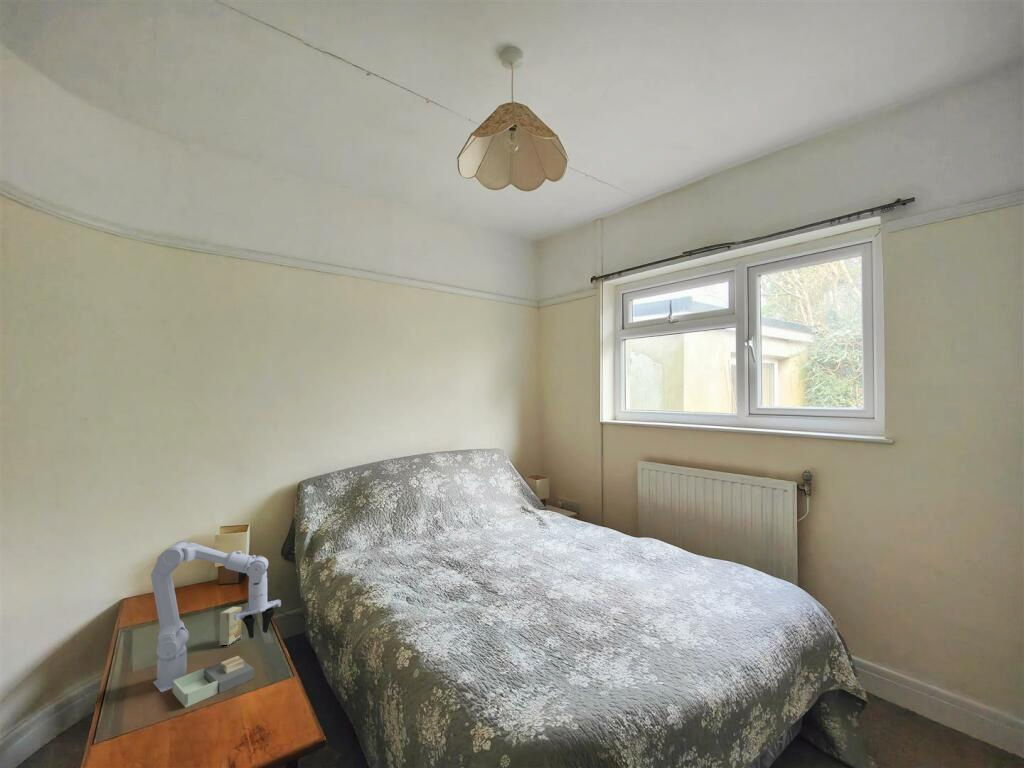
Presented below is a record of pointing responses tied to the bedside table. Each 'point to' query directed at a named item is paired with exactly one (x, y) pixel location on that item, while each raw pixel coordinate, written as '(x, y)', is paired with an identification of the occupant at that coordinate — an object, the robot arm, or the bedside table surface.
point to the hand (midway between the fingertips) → (258, 634)
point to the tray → (193, 688)
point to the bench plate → (228, 676)
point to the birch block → (232, 664)
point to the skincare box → (229, 626)
